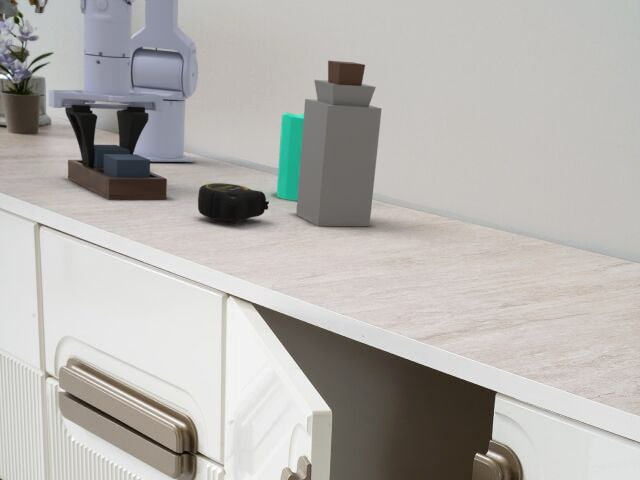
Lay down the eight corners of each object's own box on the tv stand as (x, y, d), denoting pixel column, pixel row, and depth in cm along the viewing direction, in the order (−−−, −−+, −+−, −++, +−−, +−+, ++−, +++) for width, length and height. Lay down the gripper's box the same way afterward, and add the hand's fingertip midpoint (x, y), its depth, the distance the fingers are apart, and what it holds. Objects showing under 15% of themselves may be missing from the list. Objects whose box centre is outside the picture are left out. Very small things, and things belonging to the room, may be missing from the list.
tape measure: (232, 228, 126) (234, 194, 125) (184, 218, 129) (186, 185, 128) (267, 222, 131) (270, 189, 130) (221, 212, 135) (223, 180, 133)
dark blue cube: (103, 186, 141) (103, 153, 140) (135, 186, 143) (136, 154, 142) (116, 193, 138) (116, 159, 136) (149, 192, 140) (150, 159, 138)
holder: (67, 179, 147) (67, 159, 146) (122, 179, 151) (122, 160, 150) (108, 199, 136) (109, 178, 135) (166, 199, 140) (167, 178, 139)
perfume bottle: (296, 214, 138) (308, 58, 130) (346, 215, 140) (360, 62, 133) (317, 225, 132) (331, 63, 125) (369, 226, 135) (385, 67, 128)
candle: (323, 196, 152) (331, 103, 147) (318, 203, 147) (327, 107, 142) (279, 191, 153) (286, 98, 148) (273, 198, 147) (280, 102, 142)
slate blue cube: (84, 176, 146) (84, 144, 145) (116, 176, 148) (116, 144, 147) (96, 181, 143) (97, 149, 141) (129, 181, 145) (129, 149, 144)
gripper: (62, 55, 133) (62, 172, 138) (174, 61, 140) (170, 172, 146) (42, 50, 139) (43, 163, 144) (151, 56, 146) (149, 164, 151)
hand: (106, 167), depth 145 cm, fingers closed on slate blue cube, 4 cm apart
